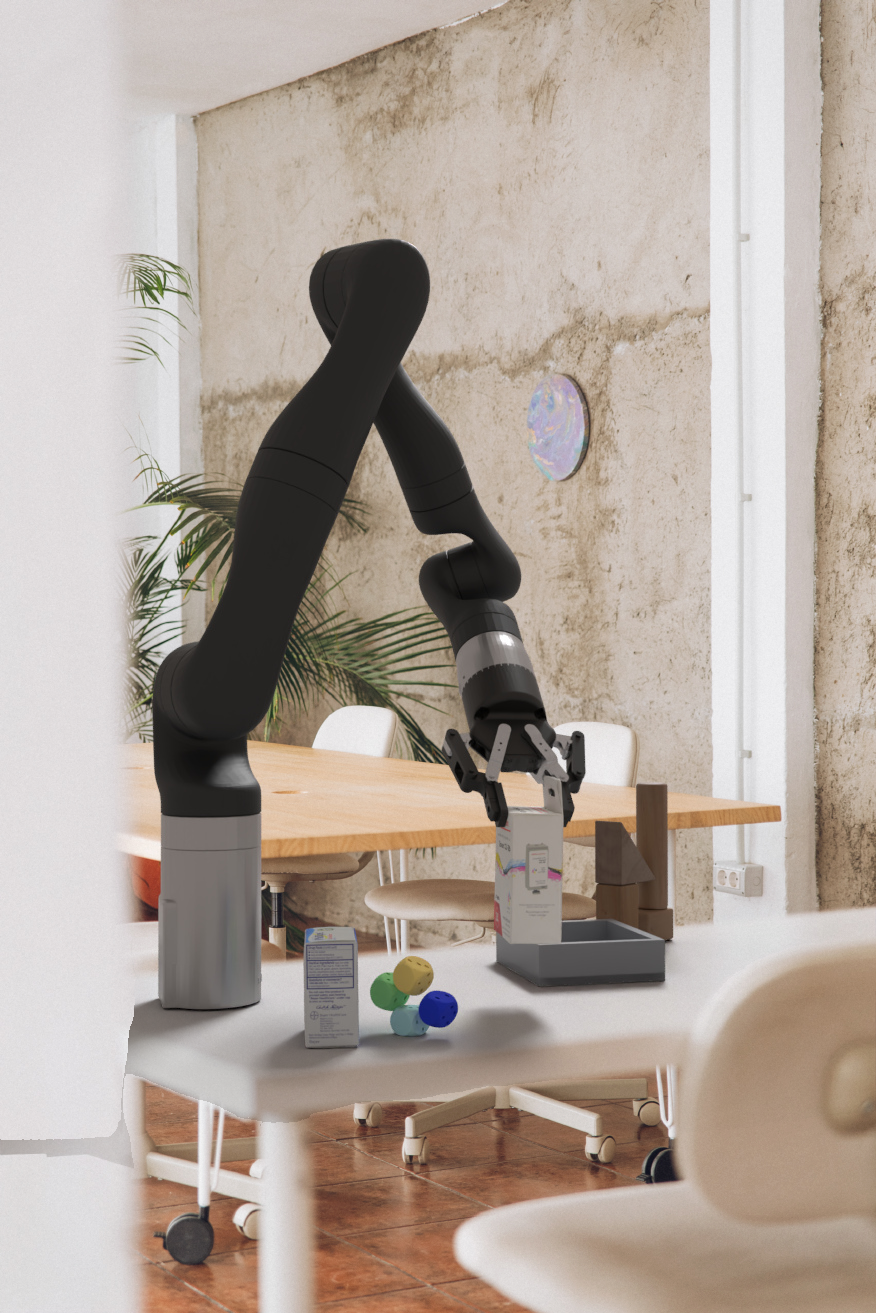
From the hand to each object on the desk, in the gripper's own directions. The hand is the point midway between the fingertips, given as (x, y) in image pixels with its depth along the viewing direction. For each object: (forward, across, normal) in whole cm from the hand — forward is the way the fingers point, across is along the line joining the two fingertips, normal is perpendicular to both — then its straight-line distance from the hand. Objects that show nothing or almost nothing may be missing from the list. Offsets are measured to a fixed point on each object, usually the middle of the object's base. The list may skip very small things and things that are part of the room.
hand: (534, 820), depth 144 cm
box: (-1, +11, +24) cm, 26 cm away
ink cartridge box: (+6, 0, +9) cm, 11 cm away
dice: (+17, -13, +7) cm, 23 cm away
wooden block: (-11, +23, +35) cm, 43 cm away
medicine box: (+18, -20, +7) cm, 27 cm away
